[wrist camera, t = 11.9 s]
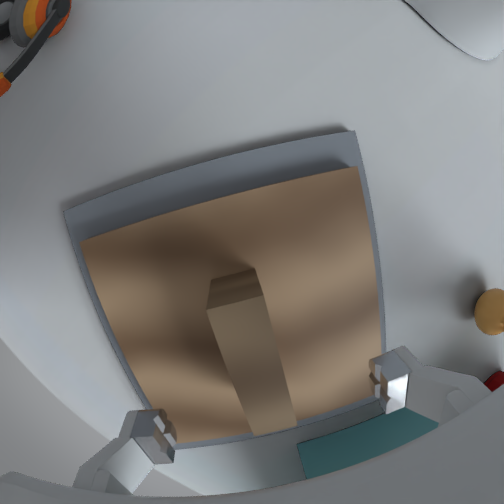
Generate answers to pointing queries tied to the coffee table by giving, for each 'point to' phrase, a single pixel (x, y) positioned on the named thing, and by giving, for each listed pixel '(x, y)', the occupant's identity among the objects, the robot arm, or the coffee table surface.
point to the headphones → (29, 30)
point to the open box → (362, 441)
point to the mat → (211, 187)
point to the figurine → (490, 312)
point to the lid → (246, 305)
